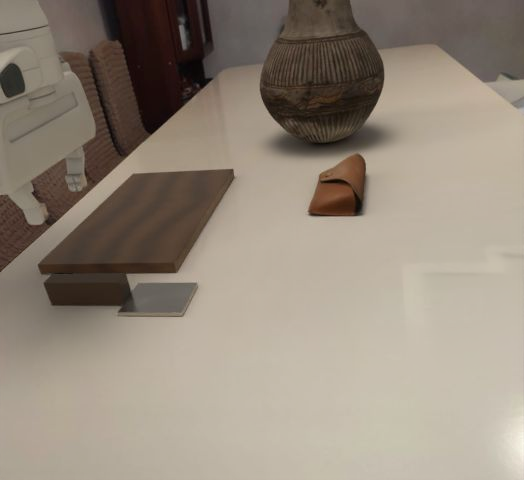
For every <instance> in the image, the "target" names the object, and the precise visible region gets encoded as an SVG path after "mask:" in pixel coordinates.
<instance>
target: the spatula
mask: <svg viewBox="0 0 524 480" xmlns="http://www.w3.org/2000/svg"><path fill="white" fill-rule="evenodd" d="M42 284H43V288H44V289H45V293H46V294H47V297H48V299H49V302H50V305H51V306H120V308H119V310H118V311H117V315H118V316H119V317H183V316H184V314H185V312H186V310H187V308H188V306H189V304H190V303H191V301H192V299H193V296H194V295H195V293H196V291H197V289H198V287H199V283H198V282H137V284H136V285H135V287H134V288H133V290H131V285H130V282H129V279H128V275H127V273H73V274H50V275H49V277H48V278H47V279H45V280H44V282H42ZM118 316H117V317H118Z"/></svg>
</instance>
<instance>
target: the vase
mask: <svg viewBox="0 0 524 480" xmlns="http://www.w3.org/2000/svg"><path fill="white" fill-rule="evenodd" d="M384 85H385V66H384V61H383V59H382V56H381V54H380V52H379V50H378V48H377V47H376V45H375V42H373V39H371V37H370V35H369V33H367V32H366V31H365V30H364V29H362V27H360V26H359V25H358V23H357V22H356V20H355V18H354V14H353V10H352V5H351V0H288V10H287V15H286V22H285V24H284V28H283V30H282V32H281V33H280V35H279V36H278V37H277V38H276V39H275V40H274V42H273V43H272V45H271V47H270V48H269V51H268V53H267V56H266V57H265V60H264V62H263V66H262V69H261V72H260V79H259V94H260V98H261V100H262V103H263V105H264V107H265V108H266V110H267V113H268V114H269V115H270V117H271V118H272V119H273V120H274V121H275V122H276V123H277V124H278V125H279V126H280V127H281V128H282V129H283V130H284V131H285V132H287V133H288V134H289V135H291V136H293V137H294V138H296V139H298V140H300V141H303V142H306V143H312V144H326V143H333V142H336V141H341V140H343V139H345V138H347V137H349V136H351V135H353V134H354V133H356V132H357V131H358V130H360V129H361V128H362V127H363V126H364V124H365V123H366V122H367V120H368V119H369V118H370V117H371V114H372V113H373V111H374V110H375V108H376V106H377V104H378V102H379V100H380V97H381V94H382V92H383V88H384Z"/></svg>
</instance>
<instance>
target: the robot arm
mask: <svg viewBox="0 0 524 480" xmlns="http://www.w3.org/2000/svg"><path fill="white" fill-rule="evenodd" d="M96 129H97V128H96V121H95V118H94V115H93V112H92V109H91V106H90V103H89V100H88V98H87V95H86V92H85V90H84V87H83V84H82V83H81V80H80V79H79V77H78V76H77V74H76V73H75V72H73V71H72V68H71V66H70V64H69V62H68V61H66V60H65V59H64V57H62V55H61V54H59V52H58V50H57V46H56V44H55V39H54V37H53V34H52V29H51V26H50V23H49V20H48V17H47V16H46V14H45V13H44V10H43V9H42V7H41V5H40V3H39V0H0V196H5V195H6V196H7V197H8V198H9V199H10V200H11V201H13V203H14V204H15V205H16V206H18V208H19V209H21V210H22V212H23V214H24V218H25V220H26V223H28V224H29V225H30V226H37V225H38V226H40V225H42V224H44V223H45V222H46V221H47V220H49V218H50V213H49V212H48V208H47V205H46V203H45V202H39V201H38V199H37V198H36V197H35V195H33V192H34V191H35V189H34V185H33V183H32V181H33V180H34V179H36V178H38V177H39V176H40V175H42V174H43V173H45V172H46V171H47V170H49V169H50V168H52V167H53V166H55V165H56V164H58V163H59V162H61V161H62V160H64V159H65V164H66V173H67V174H66V175H65V176H64V180H65V182H66V184H67V188H68V190H69V191H70V192H73V193H74V192H82V191H83V190H84V189H85V188H87V186H88V181H87V178H86V175H85V161H86V159H85V157H86V155H85V151H84V147H83V146H84V145H85V144H87V143H88V142H90V141H91V140H92V139H94V138H96Z"/></svg>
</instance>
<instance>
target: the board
mask: <svg viewBox="0 0 524 480" xmlns="http://www.w3.org/2000/svg"><path fill="white" fill-rule="evenodd" d="M234 178H235V171H234V168H220V169H219V168H217V169H201V170H199V169H198V170H182V171H181V170H180V171H179V170H178V171H160V172H158V171H157V172H141V173H140V172H139V173H132V174H131V175H130V176H129V177H127V179H126V180H124V181H123V183H122V184H120V185H119V186H118V187H117V188H116V189H115V190H114V191H113V192H112V193H111V194H110V195H109V196H108V197H106V198H105V200H104V201H102V202H101V203H100V204H99V205H98V206H97V207H96V208H95V209H94V210H93V211H92V212H91V213H90V214H89V215H88V216H86V218H85V219H83V221H81V222H80V224H78V225H77V226H76V227H75V228H74V229H73V230H72V231H71V232H69V234H68V235H67V236H66V237H65V238H63V240H61V241H60V242H59V243H58V244H57V245H56V246H55V247H54V248H53V249H52V250H51V251H50V252H49V253H48V254H47V255H46V256H44V258H42V259H41V260H40V261H39V262H38V263H37V268H38V270H39V272H40V274H41V275H43V274H44V273H73V274H81V273H126V274H153V273H154V274H157V273H158V274H159V273H160V274H161V273H163V274H165V273H168V274H169V273H176V274H177V272H178V270H180V268H181V266H182V264H183V262H184V260H185V259H186V257H187V255H188V254H189V252H190V251H191V249H192V247H193V246H194V244H195V243H196V241H197V239H198V238H199V236H200V235H201V233H202V231H203V229H204V228H205V227H206V225H207V223H208V221H209V219H210V218H211V217H212V214H213V213H214V211H215V209H216V208H217V206H218V205H219V203H220V201H221V200H222V198H223V196H224V195H225V193H226V192H227V190H228V188H229V187H230V185H231V183H232V181H233V180H234ZM44 275H45V274H44Z"/></svg>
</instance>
